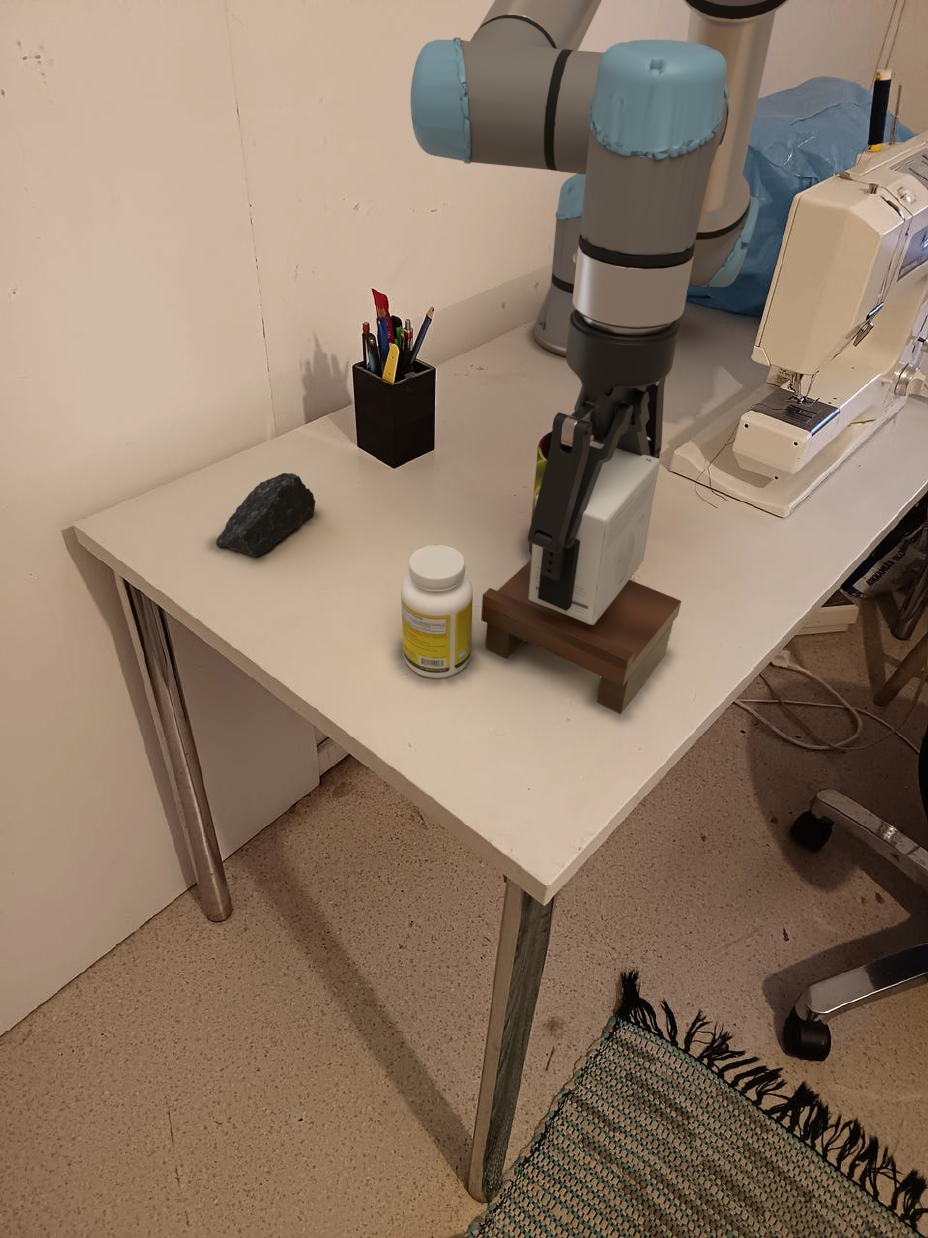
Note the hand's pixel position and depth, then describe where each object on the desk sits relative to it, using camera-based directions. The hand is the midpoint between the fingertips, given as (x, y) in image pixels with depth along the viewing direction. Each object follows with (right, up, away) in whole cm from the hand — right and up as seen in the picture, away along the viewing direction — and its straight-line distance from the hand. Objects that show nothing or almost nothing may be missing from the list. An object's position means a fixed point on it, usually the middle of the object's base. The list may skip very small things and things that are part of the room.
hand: (587, 567), depth 74 cm
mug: (+2, +4, +20) cm, 21 cm away
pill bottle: (-13, -8, +6) cm, 16 cm away
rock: (-32, +5, +20) cm, 38 cm away
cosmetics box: (0, -1, +1) cm, 2 cm away
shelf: (0, -7, +6) cm, 10 cm away
